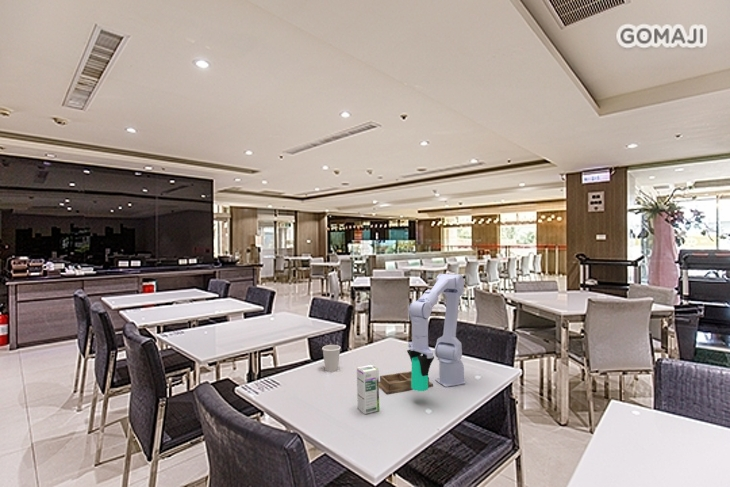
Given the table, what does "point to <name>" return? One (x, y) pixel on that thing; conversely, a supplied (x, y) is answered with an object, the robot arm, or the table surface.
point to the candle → (418, 377)
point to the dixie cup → (331, 357)
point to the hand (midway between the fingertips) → (420, 372)
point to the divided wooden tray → (397, 382)
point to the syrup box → (368, 389)
